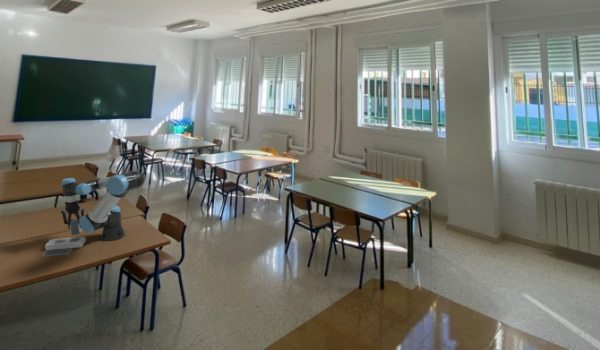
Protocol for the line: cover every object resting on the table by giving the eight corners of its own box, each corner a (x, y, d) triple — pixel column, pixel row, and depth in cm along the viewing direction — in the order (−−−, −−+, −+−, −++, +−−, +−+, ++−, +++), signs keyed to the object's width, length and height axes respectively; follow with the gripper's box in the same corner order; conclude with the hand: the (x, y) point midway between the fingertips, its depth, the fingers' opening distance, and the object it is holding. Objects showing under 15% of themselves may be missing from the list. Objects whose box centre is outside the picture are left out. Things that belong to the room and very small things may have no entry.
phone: (46, 252, 201) (46, 250, 201) (72, 250, 206) (72, 248, 205) (41, 257, 195) (41, 256, 195) (68, 255, 199) (68, 253, 199)
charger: (80, 231, 222) (78, 218, 219) (79, 234, 218) (77, 220, 215) (73, 232, 220) (71, 219, 218) (71, 234, 216) (69, 221, 214)
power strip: (85, 241, 217) (85, 235, 216) (81, 246, 209) (81, 241, 208) (51, 244, 211) (50, 238, 210) (45, 250, 203) (44, 244, 202)
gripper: (87, 198, 220) (92, 229, 225) (58, 200, 214) (63, 231, 219) (84, 201, 213) (89, 233, 218) (54, 203, 207) (59, 236, 212)
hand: (76, 232), depth 219 cm, fingers closed on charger, 4 cm apart
